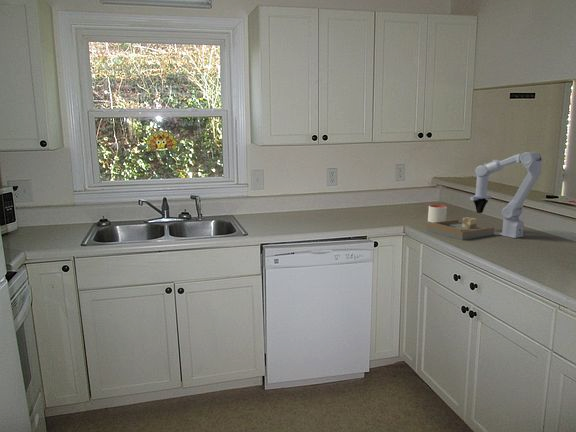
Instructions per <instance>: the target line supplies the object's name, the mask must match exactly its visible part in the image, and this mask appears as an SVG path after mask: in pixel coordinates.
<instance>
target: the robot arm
mask: <svg viewBox="0 0 576 432" xmlns="http://www.w3.org/2000/svg"><path fill="white" fill-rule="evenodd" d="M516 163H520V164H521V165H522V166H523V167H524V168H525V169H526V171H527V174H526V175H525V177H524V179H523V181H522V183H521V184H520V185H519V188H518V189H517V191H516V193H515V195H514V196H513V198H512V199H511V200H510V201H509V202H508V203H507V205H506V206H504V207H503V208H502V210H501V216H502V217H503V220H502V231H501V232H499V233H498V235H500V236H503V237H507V238H512V239H516V238H517V239H518V238H524V228H525V222H524V221H522V220H520V216H521V214H522V213H523V207H524V203H525V201H526V199H527V198H528V196H529V194H530V193H531V191H532V189H533V188H534V186H535V184H536V182H537V180H538V179H539V177H540V175H541V173H542V163H543V157H542V156H541V153H539V151H535V150H534V151H530V152H529V151H525V152H520V153H516V154H514V155H512V156H510V157H507V158H505V159H503V160H499V159H492V161H491V162H485V163H484V164H483V165H481V164H480V165H478V166H477V167H476V168H475V169H474V170H475V175H476V182H475V183H476V184H475V186H476V187H475V194H474V195H472V196H470V197H469V200H470V201H472V202H473V203H474V206H475V211H476V213H477V214H482V213H484V209H485V207H486V205H487V204H488V202H489V200H491V199H492V195H490V194H488V184H489V176H490V175H491V174H494V173H497V172H500V171H502V170H503V169H504V167H506V166H509V165H513V164H516ZM488 199H489V200H488Z"/></svg>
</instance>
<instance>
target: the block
mask: <svg viewBox="0 0 576 432" xmlns="http://www.w3.org/2000/svg"><path fill="white" fill-rule="evenodd" d="M477 220H478V219H477V218H476V217H470V216H469V217H468V216H467V217H462V222H461V224H462V227H464V228H468V229H472V228H476V227H477V224H478V223H477Z"/></svg>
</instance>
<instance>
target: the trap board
mask: <svg viewBox="0 0 576 432" xmlns="http://www.w3.org/2000/svg"><path fill="white" fill-rule="evenodd" d="M425 232H430V233H433V234H436V235H437V234H438V235H441V236H445V237H449V238H453V239H457V240H461V241H464V240H471V239H478V238H481V237H489V236H493V235H495V226H491V227H483V228H482V227H477V226H476V228H472V229H468V228H464V227H462V222H461V223H460V222H459V218H457V219H455V218H454V219H448V220H447V219H446V221H440V222H428V221H427V222H426V225H425Z"/></svg>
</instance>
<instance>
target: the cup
mask: <svg viewBox="0 0 576 432" xmlns="http://www.w3.org/2000/svg"><path fill="white" fill-rule="evenodd" d="M447 209H448V207H447V206H446V205H442V204H431V205H428V213H427V223H428V222H440V221H447V212H448V210H447Z"/></svg>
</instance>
